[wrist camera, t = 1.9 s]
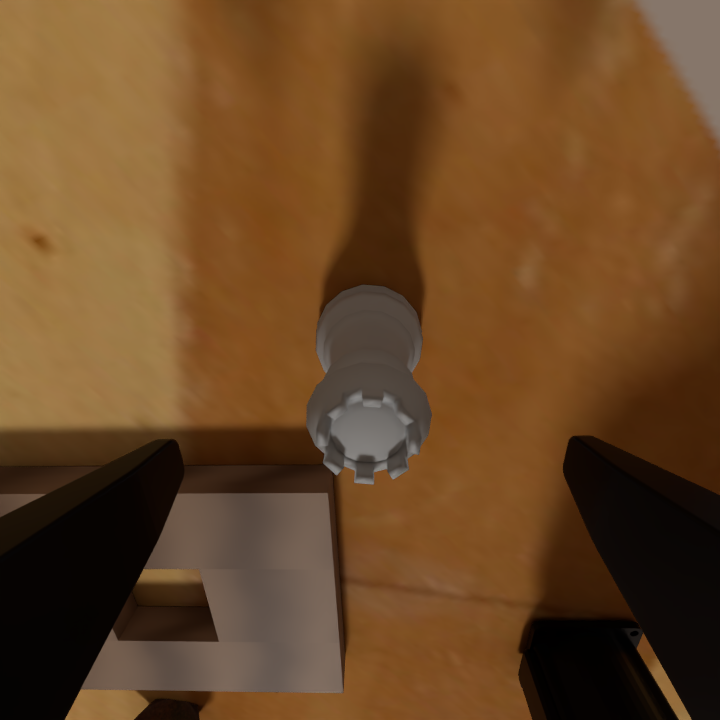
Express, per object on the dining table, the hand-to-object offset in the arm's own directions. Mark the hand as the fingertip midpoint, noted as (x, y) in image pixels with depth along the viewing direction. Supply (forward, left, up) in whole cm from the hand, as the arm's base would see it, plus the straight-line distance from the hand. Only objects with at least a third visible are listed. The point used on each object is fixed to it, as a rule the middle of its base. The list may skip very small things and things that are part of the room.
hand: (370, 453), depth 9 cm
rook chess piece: (0, 0, -9) cm, 9 cm away
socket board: (+12, +15, -8) cm, 21 cm away
